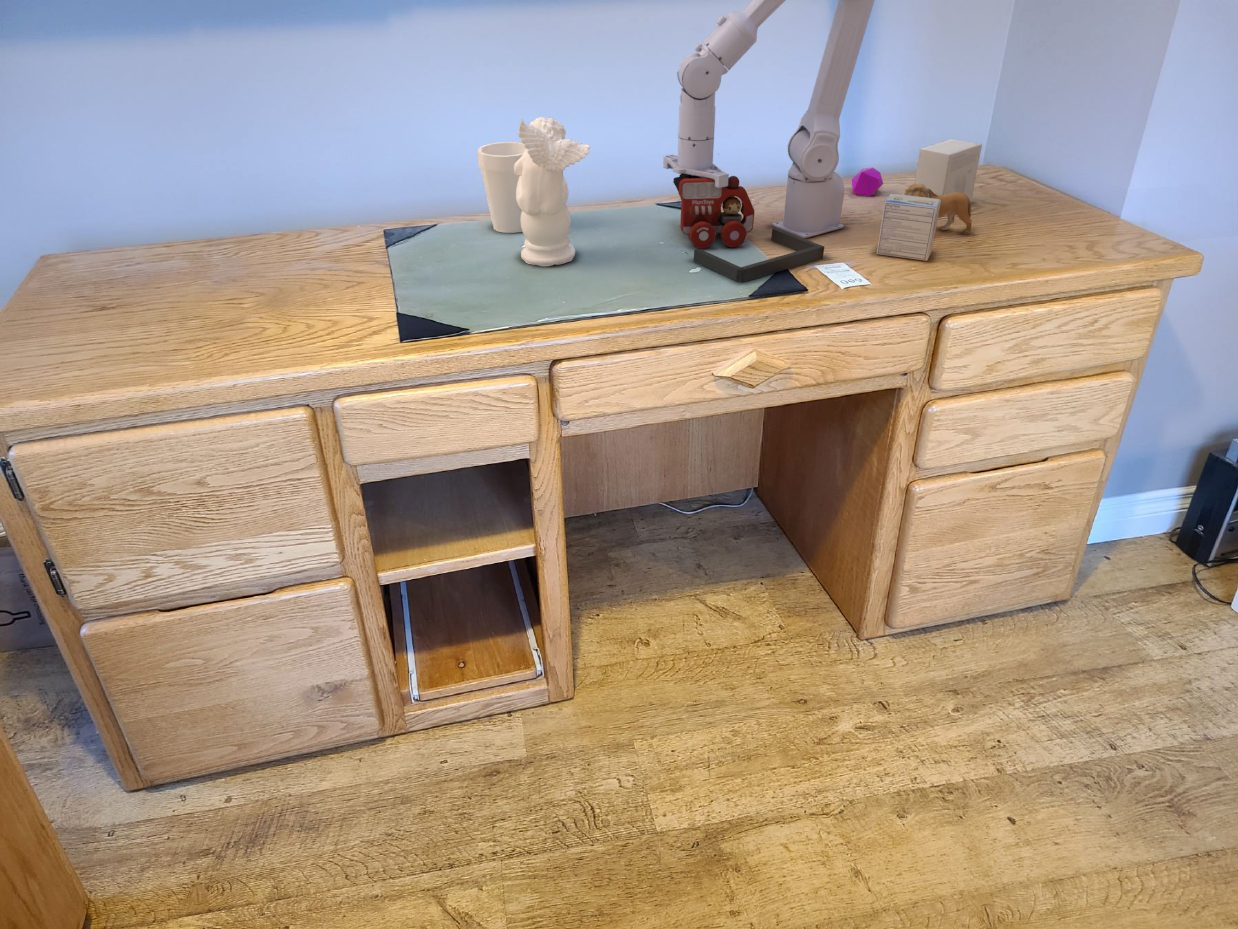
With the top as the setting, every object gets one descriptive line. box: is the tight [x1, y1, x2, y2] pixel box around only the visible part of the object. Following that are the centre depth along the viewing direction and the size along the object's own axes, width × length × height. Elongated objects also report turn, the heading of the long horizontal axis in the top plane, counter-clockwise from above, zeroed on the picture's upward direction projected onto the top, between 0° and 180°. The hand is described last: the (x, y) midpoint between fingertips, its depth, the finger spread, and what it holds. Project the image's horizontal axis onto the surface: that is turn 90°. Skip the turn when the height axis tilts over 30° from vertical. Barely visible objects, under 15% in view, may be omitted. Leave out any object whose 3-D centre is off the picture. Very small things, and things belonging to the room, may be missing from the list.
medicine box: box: [876, 193, 941, 262], centre depth 139 cm, size 8×4×9 cm, turn 65°
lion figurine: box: [903, 183, 973, 235], centre depth 147 cm, size 15×5×9 cm, turn 113°
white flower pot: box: [477, 141, 527, 234], centre depth 150 cm, size 10×9×13 cm
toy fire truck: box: [678, 175, 755, 249], centre depth 144 cm, size 7×12×10 cm, turn 96°
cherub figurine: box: [514, 116, 591, 267], centre depth 134 cm, size 12×12×22 cm
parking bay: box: [693, 227, 825, 284], centre depth 139 cm, size 17×11×2 cm, turn 125°
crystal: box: [850, 167, 884, 197], centre depth 168 cm, size 5×5×5 cm
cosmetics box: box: [914, 138, 983, 204], centre depth 159 cm, size 10×6×10 cm, turn 131°
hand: (692, 220), depth 150 cm, fingers closed
